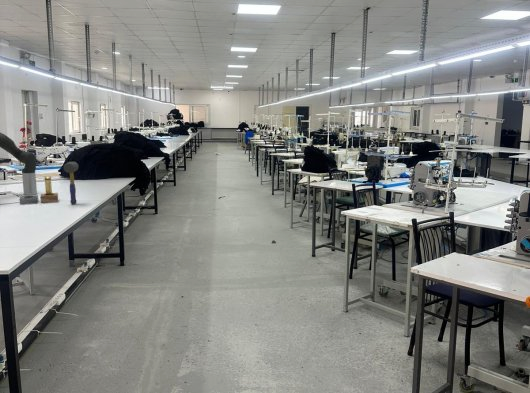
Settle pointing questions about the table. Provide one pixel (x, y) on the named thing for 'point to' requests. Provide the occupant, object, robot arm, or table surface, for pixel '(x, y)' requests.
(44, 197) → the block
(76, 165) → the rubber mallet
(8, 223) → the table surface
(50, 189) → the brass peg
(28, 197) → the socket block
